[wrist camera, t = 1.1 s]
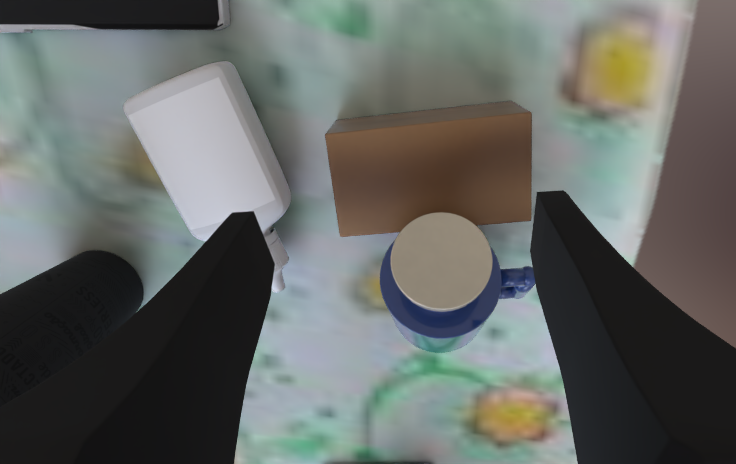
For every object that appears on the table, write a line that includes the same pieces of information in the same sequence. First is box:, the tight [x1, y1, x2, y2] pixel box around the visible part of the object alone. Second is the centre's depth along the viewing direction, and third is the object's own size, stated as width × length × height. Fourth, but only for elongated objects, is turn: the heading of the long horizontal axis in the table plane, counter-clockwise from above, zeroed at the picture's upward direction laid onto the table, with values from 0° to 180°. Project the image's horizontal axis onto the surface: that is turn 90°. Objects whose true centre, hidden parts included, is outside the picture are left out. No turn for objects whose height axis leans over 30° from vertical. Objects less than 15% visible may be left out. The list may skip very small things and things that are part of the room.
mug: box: [380, 212, 536, 353], centre depth 23 cm, size 9×7×10 cm
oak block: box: [325, 101, 532, 237], centre depth 24 cm, size 5×9×4 cm, turn 97°
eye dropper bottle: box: [123, 61, 291, 293], centre depth 26 cm, size 4×6×12 cm
